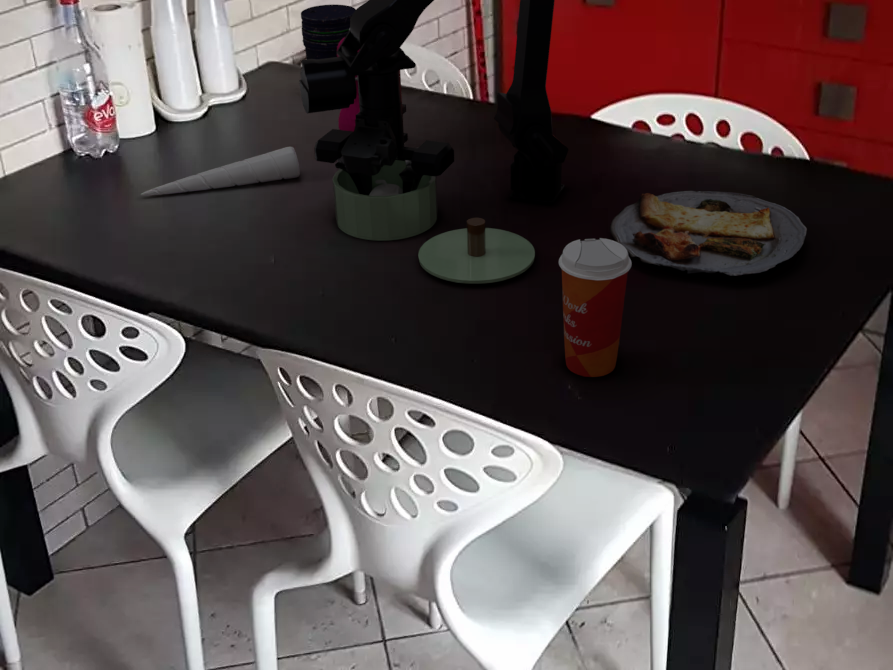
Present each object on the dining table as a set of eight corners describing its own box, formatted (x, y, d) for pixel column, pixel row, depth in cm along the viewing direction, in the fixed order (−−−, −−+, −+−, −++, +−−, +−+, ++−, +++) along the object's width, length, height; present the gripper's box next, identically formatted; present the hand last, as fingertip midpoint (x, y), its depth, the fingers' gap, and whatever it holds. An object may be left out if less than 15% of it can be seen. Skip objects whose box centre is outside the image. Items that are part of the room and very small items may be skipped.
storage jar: (369, 87, 213) (364, 5, 205) (353, 105, 204) (347, 20, 197) (317, 84, 215) (310, 3, 207) (299, 102, 207) (291, 18, 199)
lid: (549, 244, 156) (550, 205, 153) (512, 296, 144) (512, 255, 141) (444, 228, 161) (443, 190, 158) (400, 277, 149) (397, 237, 146)
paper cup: (551, 348, 133) (553, 237, 126) (617, 343, 133) (623, 233, 126) (562, 385, 126) (565, 271, 119) (632, 380, 127) (639, 266, 120)
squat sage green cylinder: (452, 205, 167) (451, 163, 164) (413, 247, 156) (411, 203, 153) (363, 192, 172) (360, 151, 169) (318, 232, 161) (315, 189, 158)
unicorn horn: (140, 188, 176) (135, 158, 173) (297, 170, 180) (295, 141, 178) (141, 200, 172) (135, 170, 169) (301, 182, 176) (298, 152, 174)
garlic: (361, 212, 165) (358, 178, 162) (394, 203, 167) (392, 170, 165) (380, 228, 161) (377, 193, 158) (414, 218, 163) (413, 184, 160)
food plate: (590, 267, 150) (591, 243, 148) (633, 196, 168) (635, 174, 166) (790, 297, 141) (793, 272, 140) (812, 219, 160) (816, 196, 158)
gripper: (290, 115, 152) (301, 223, 160) (421, 130, 146) (426, 242, 154) (328, 88, 161) (337, 192, 169) (454, 101, 155) (457, 209, 163)
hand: (387, 209), depth 163 cm, fingers closed on garlic, 5 cm apart
